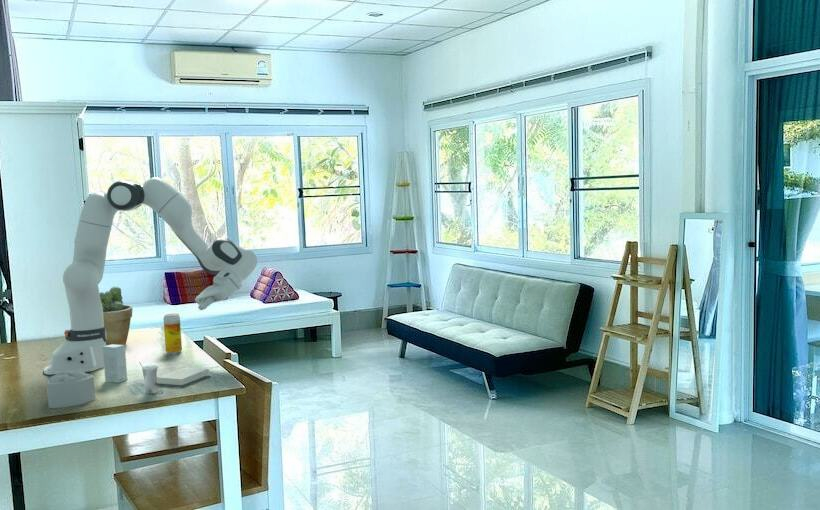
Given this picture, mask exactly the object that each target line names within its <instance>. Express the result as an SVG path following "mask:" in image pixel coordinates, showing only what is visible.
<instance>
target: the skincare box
mask: <svg viewBox="0 0 820 510" xmlns="http://www.w3.org/2000/svg"><path fill="white" fill-rule="evenodd" d="M103 357H104V367H103V368H104V381H105V382H107V383H116V384H117V383H121V382H124V381H127V380H128V372H127V358H126V345H115V344H111V345H107V346H103Z"/></svg>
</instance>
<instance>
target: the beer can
mask: <svg viewBox="0 0 820 510" xmlns="http://www.w3.org/2000/svg"><path fill="white" fill-rule="evenodd" d="M163 329H164V330H163V331H164V332H163V333H164V345H165V352H166V354H169V355H175V354H180V353H181V352H182V351H183V343H182V329H181V317H180V315H179V313H167V314H166V313H165V314H164V316H163Z"/></svg>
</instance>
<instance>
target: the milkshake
mask: <svg viewBox="0 0 820 510" xmlns="http://www.w3.org/2000/svg"><path fill="white" fill-rule="evenodd" d="M139 365H140V366H141V369H142V375H143V379H144V380H143V381H144V388H145V393H146V394H147V395H153V394H156V393H158V386H157V377H158V365H157V364H156V363H154V362H153V363H148V364H147V363H146V364H145V365H142V363H141V362H140V361H139Z"/></svg>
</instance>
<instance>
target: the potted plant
mask: <svg viewBox="0 0 820 510" xmlns="http://www.w3.org/2000/svg"><path fill="white" fill-rule="evenodd" d="M99 294H100V299H101V303H102V306H103V319H104V326H105V329H106V338H107V339H106V346H107V345H111V344H115V345H125V346H126V344H127V341H128V338H129V332H130V328H131V318H132V316H133V306H132V305H128V304H127V305H126V304H124V301H123V296H122V288H121V287H119V286H112V287H111V288H110V289H109V291H108V290H107V291H104V292H102V291H101V292H99Z"/></svg>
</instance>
